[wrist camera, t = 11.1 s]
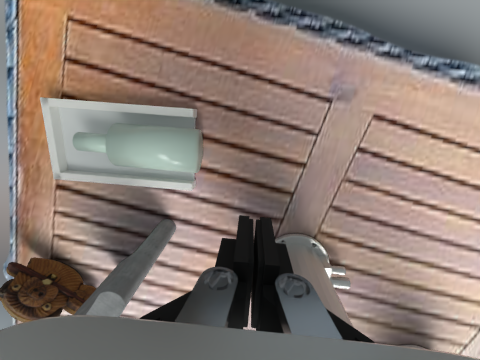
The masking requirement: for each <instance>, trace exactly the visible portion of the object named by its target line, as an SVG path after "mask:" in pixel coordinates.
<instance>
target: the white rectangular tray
mask: <svg viewBox="0 0 480 360" xmlns="http://www.w3.org/2000/svg"><path fill="white" fill-rule="evenodd" d="M40 101H41V106H42V112H43V118H44V124H45V130H46V136H47V141H48V147H49V153H50V159H51V165H52V171H53V176H54V179H59V180H71V181H83V182H95V183H107V184H118V185H130V186H142V187H154V188H166V189H178V190H190V191H192V190H193V189H194V188H195V186H196V179H195V173H192V172H180V171H169V170H157V169H146V168H134V167H123V166H115V165H113V164H112V163H111V162H110V160H109V158H108V156H107V153H100V152H89V151H78V150H76V149H75V147H74V146H73V136H74V134H75V133H77V132H87V133H99V134H107V132H108V130H109V128H110V127H111V126H112V125H113V124H115V123H127V124H139V125H151V126H163V127H175V128H187V129H196V117H197V109H187V108H174V107H161V106H148V105H134V104H121V103H108V102H95V101H81V100H68V99H55V98H42V97H40Z"/></svg>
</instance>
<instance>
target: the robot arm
mask: <svg viewBox="0 0 480 360" xmlns="http://www.w3.org/2000/svg"><path fill="white" fill-rule="evenodd" d="M282 240H283V241H282ZM332 274H337V275H345V274H346V270H345V267H340V266H331V265H330V262H329V257H328V254H327V252H326V250H325V249H324V247H323V246H322V245H321V243H320V242H318V241H317V240H316V239H314V238H312V237H310V236H308V235H304V234H287V235H283V236H281V237H278V238H276V239H275V237H274V232H273V226H272V221H271V218H264V217H260V220H256V227H255V236H253V219H249V216H242V215H239V222H238V230H237V238H236V239H228V238H222V241H221V245H220V249H219V253H218V257H217V261H216V265H215V267H212V268H209V269H207V270H205V271H204V272H203V273H202V274H201V276H200V277H199V279H198V281H197V283H196V285H195V286H194V288H193V290H192V291H190V292H188V293H187V294H185V295H183V296H181V297H179V298H177V299H175V300H173V301H171V302H169V303H167V304H165V305H164V306H162V307H160V308H158V309H156V310H154V311H152V312H150V313H148V314H146V315H144V316H143V317H141V318H140V319H135V318H125V317H110V316H94V315H67V316H58V317H49V318H43V319H38V320H34V321H29V322H24V323H20V324H17V325H14V326H10V327H8V328H5V329H2V330H0V360H480V359H478V358H473V357H469V356H464V355H460V354H455V353H449V352H442V351H435V350H428V349H421V348H414V347H405V346H395V345H386V344H377V343H374V342H373V341H372V340H371V339H369V338H368V337H366V336H365V335H364V334H362V333H361V332H359V331H358V330H356V329H355V328H354V327H353V325H352V323H351V321H350V319H349V317H348V315H347V313H346V311H345V309H344V307H343V305H342V303H341V301H340V299H339V297H338V295H337V293H336V290H335V288H339V289H350V280H349V279H348V278H346V277H331V275H332ZM334 287H335V288H334ZM250 297H251V328H256V331H254V330H245V329H243V327H247V325H248V316H249V307H250Z"/></svg>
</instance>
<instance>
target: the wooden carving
mask: <svg viewBox="0 0 480 360" xmlns="http://www.w3.org/2000/svg"><path fill="white" fill-rule="evenodd" d="M7 273H8V274H9V275H11V276H13V277H14V279H11V280H9V281H7V282H6V283H4V284H3V286H2V287H1V288H0V301H2V304H3V306H4V308H5V309H6V310H7V312H8V313H9V314H10V315H11V316H12V317H13V318H15V319H17V320H19V321H21V322H29V321H34V320H38V319H43V318H49V317H58V316H60V314H61V312H62V310H63V309H64V310H65V311H67V312H69V313H70V314H72V315H74V314H75V313H76V312H77V310H78V309H79V308H80V307H81V306H82V305H83V304H84V303H85V301H86V300H87V299H88V298H89V297H90V296H91V295H92V294H93V292H94V291H95V290H96V288H95V287H93V286H89V285H83V280H82V278H81V276H80V275H79V274H78V273H77V272H76V271H75V270H74V269H73V268H71V267H69V266H67V265H65V264H63V263H60V262H58V261H55V260H51V259H44V258H31V259H30V261H29V263H28V265H27V267H26V266H24V265H22V264H19V263H15V262H11V263H9V264H8V267H7Z"/></svg>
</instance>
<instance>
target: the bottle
mask: <svg viewBox="0 0 480 360" xmlns="http://www.w3.org/2000/svg"><path fill="white" fill-rule="evenodd" d="M73 146H74V147H75V149H76V150H78V151H89V152H100V153H107V156H108V158H109V160H110V162H111V163H112V164H113V165H115V166H123V167H134V168H146V169H157V170H169V171H180V172H192V173H198V172H199V170H200V167H201V162H202V155H203V137H202V132H201V130H199V129H187V128H175V127H163V126H151V125H139V124H127V123H115V124H113V125H112V126H111V127H110V128H109V130H108V132H107V134H99V133H87V132H77V133H75V134H74V136H73Z"/></svg>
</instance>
